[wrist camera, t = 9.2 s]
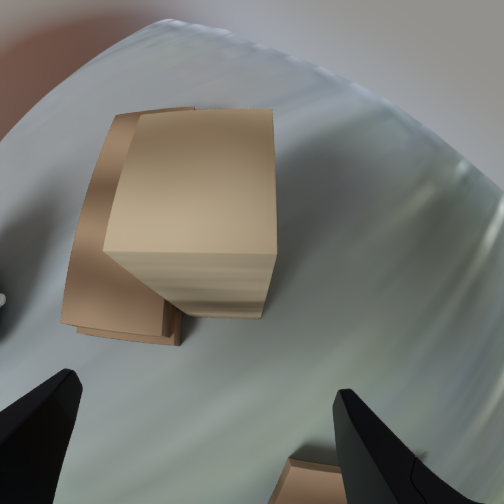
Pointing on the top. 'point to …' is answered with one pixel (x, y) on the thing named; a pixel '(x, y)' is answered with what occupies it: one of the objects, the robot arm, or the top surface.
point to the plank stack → (105, 268)
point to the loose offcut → (309, 484)
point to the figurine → (2, 299)
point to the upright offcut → (199, 210)
